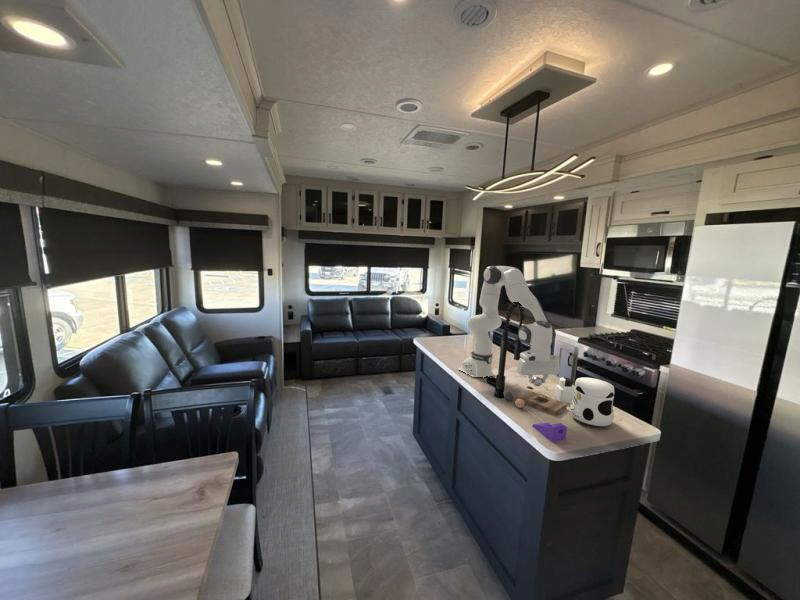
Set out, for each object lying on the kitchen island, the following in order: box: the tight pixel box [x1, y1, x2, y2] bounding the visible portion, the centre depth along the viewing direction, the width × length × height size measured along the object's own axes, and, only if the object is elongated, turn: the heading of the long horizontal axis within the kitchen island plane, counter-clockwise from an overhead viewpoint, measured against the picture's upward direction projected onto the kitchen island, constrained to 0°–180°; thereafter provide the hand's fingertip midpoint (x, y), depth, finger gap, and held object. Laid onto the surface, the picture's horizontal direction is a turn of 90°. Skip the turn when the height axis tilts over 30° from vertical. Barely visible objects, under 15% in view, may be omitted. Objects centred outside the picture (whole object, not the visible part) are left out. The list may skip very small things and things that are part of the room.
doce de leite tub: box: [569, 377, 615, 428], centre depth 147 cm, size 17×17×18 cm
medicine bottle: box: [554, 376, 574, 404], centre depth 168 cm, size 7×7×12 cm
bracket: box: [532, 422, 568, 443], centre depth 136 cm, size 12×7×7 cm, turn 15°
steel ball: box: [532, 376, 543, 387], centre depth 154 cm, size 4×4×4 cm
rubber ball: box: [504, 391, 514, 401], centre depth 167 cm, size 4×4×4 cm
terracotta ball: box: [514, 398, 526, 409], centre depth 159 cm, size 4×4×4 cm
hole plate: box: [516, 389, 568, 416], centre depth 163 cm, size 20×12×2 cm, turn 40°
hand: (537, 382), depth 154 cm, fingers closed on steel ball, 4 cm apart
